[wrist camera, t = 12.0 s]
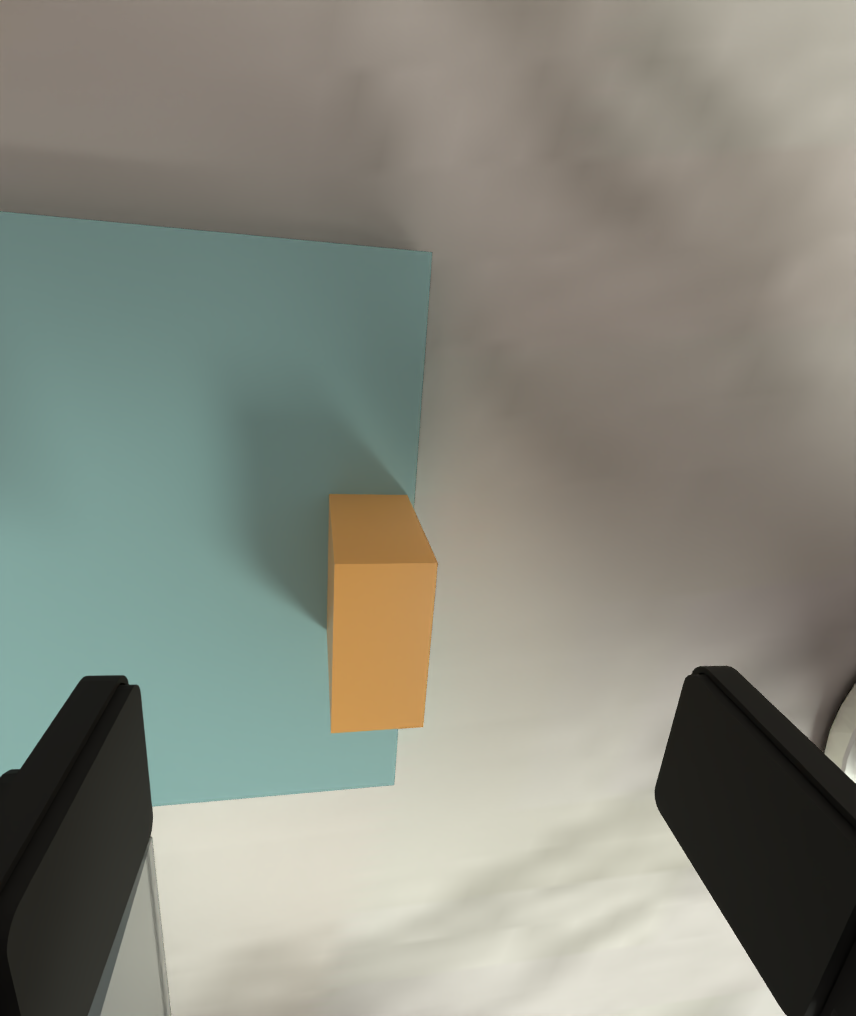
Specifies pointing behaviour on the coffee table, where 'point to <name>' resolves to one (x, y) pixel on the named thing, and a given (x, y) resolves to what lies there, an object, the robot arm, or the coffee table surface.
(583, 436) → the coffee table surface
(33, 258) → the lid
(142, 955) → the tub
